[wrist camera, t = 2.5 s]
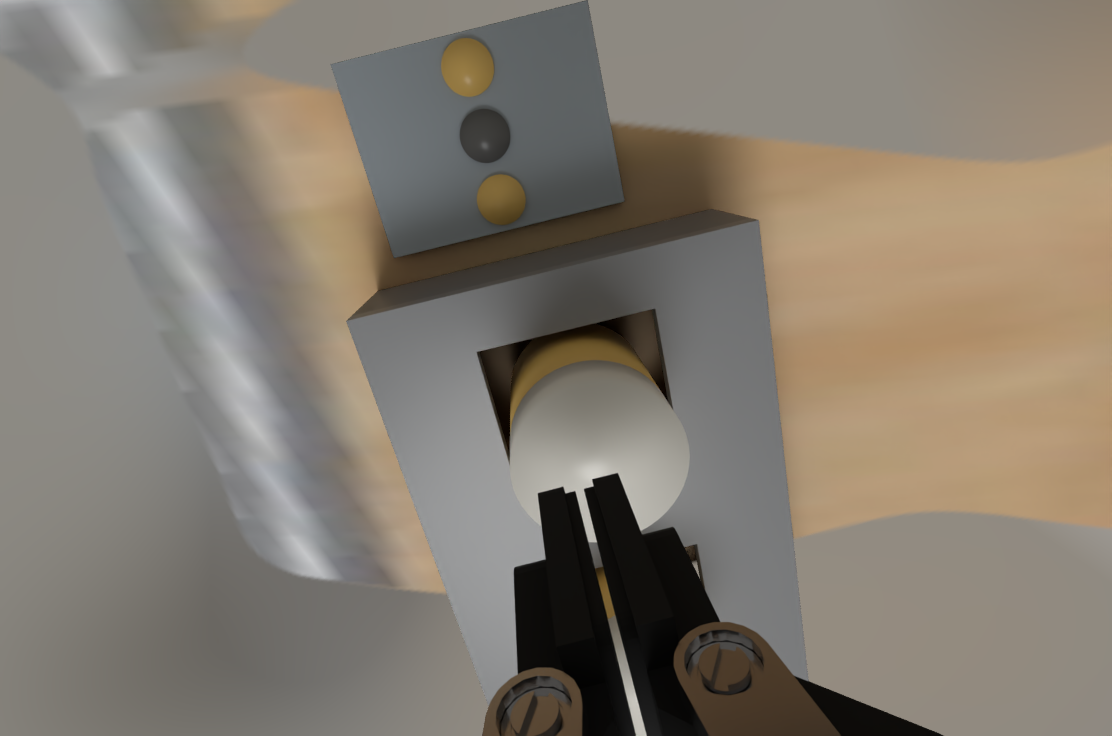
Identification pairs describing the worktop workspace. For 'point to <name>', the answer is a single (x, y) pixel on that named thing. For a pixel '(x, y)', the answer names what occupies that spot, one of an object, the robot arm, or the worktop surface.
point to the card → (483, 129)
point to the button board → (693, 393)
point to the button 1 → (593, 424)
